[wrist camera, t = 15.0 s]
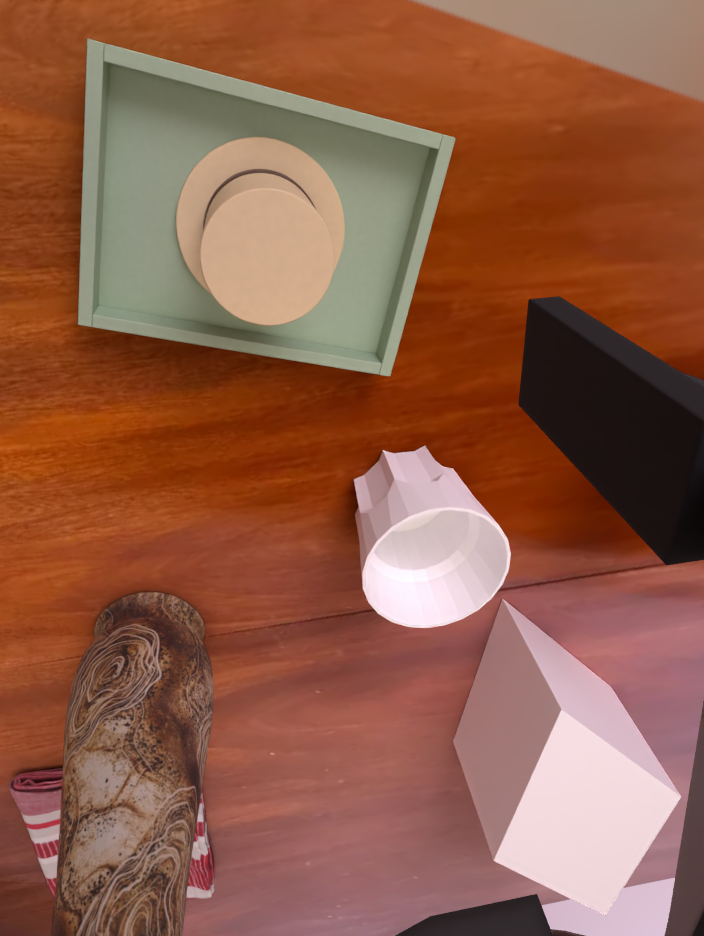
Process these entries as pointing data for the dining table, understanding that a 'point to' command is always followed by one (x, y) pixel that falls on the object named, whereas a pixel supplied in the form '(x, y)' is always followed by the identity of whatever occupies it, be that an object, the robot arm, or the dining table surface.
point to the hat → (261, 229)
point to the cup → (425, 542)
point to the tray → (171, 161)
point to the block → (558, 767)
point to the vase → (133, 770)
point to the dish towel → (42, 820)
